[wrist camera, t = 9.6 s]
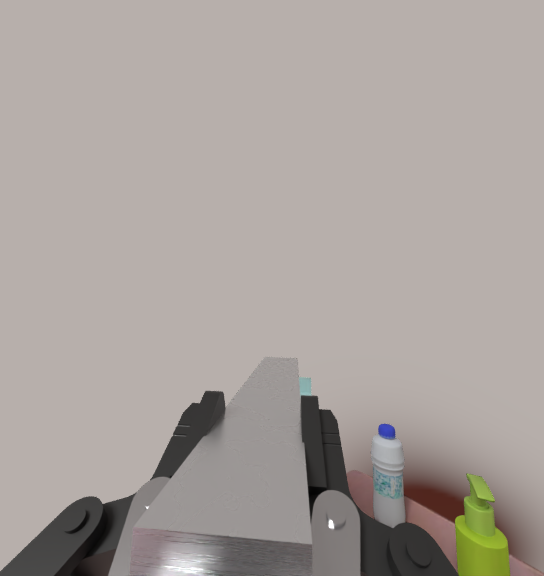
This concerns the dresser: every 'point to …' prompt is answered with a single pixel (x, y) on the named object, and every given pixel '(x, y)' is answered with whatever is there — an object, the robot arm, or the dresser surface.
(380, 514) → the bottle
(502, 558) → the soap dispenser
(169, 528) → the gray metal bar
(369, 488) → the dresser surface
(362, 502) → the dresser surface
